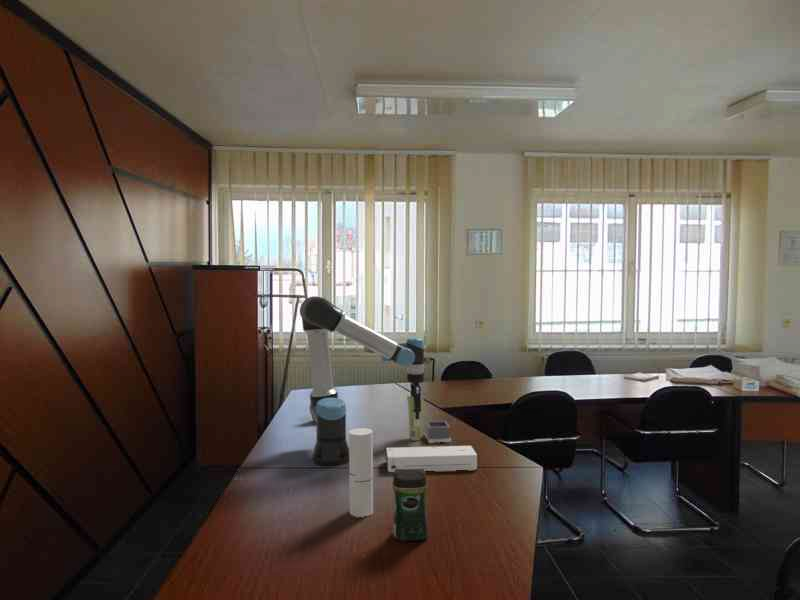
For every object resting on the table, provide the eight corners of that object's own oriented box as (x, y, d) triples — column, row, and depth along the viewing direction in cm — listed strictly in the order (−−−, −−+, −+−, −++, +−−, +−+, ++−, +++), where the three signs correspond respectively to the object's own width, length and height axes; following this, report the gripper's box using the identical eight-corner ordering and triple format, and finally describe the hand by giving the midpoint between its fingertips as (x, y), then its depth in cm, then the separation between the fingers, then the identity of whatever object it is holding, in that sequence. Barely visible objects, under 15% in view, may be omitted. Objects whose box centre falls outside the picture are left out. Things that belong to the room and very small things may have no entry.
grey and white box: (451, 442, 223) (451, 427, 223) (428, 443, 222) (428, 428, 221) (445, 434, 235) (445, 420, 234) (424, 434, 234) (424, 420, 233)
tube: (415, 436, 231) (415, 394, 230) (424, 438, 228) (423, 395, 227) (407, 439, 227) (407, 396, 226) (415, 441, 223) (415, 398, 223)
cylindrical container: (360, 504, 160) (360, 426, 160) (377, 511, 156) (377, 431, 155) (344, 512, 155) (344, 432, 154) (361, 519, 150) (361, 436, 150)
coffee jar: (426, 528, 145) (426, 464, 144) (428, 542, 137) (428, 475, 136) (393, 528, 145) (392, 464, 144) (392, 542, 137) (392, 475, 136)
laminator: (471, 460, 201) (471, 445, 201) (478, 472, 189) (478, 455, 188) (385, 463, 199) (385, 447, 198) (387, 475, 186) (387, 458, 186)
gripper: (427, 376, 216) (427, 429, 217) (420, 368, 237) (420, 417, 237) (410, 377, 215) (410, 430, 216) (404, 369, 236) (404, 417, 236)
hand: (415, 423), depth 227 cm, fingers open, 8 cm apart
